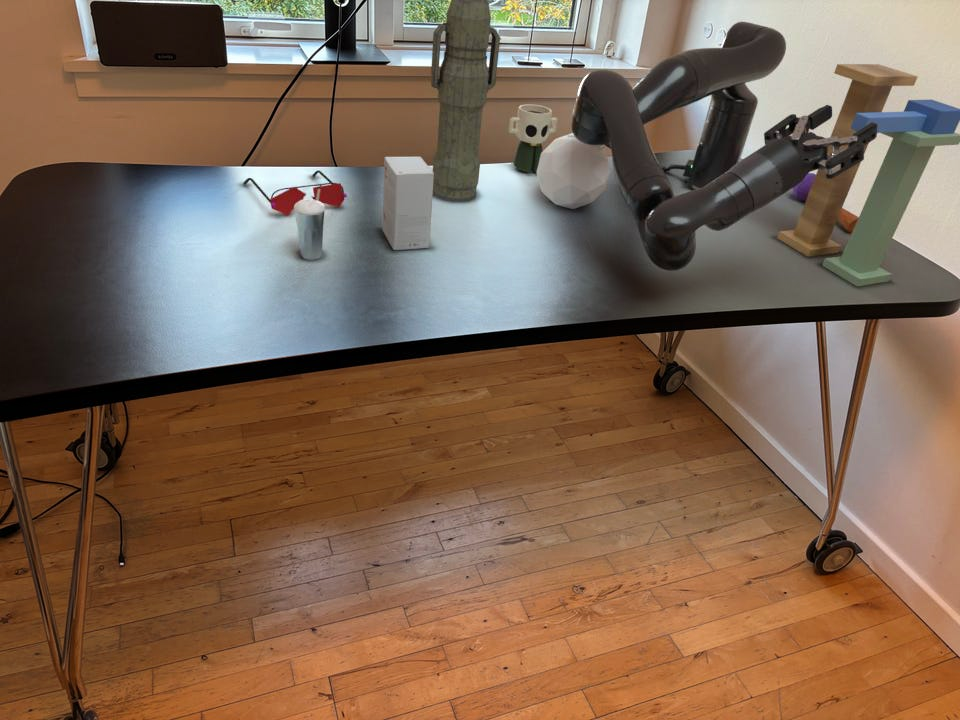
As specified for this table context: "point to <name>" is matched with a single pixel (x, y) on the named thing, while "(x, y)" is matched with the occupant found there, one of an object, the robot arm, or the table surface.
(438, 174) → the green handled vase
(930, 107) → the peg
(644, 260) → the table surface
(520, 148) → the character mug
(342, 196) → the glasses
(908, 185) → the green pillar
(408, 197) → the small box
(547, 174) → the geodesic sphere
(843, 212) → the kendama
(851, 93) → the tall stand
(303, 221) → the milkshake
